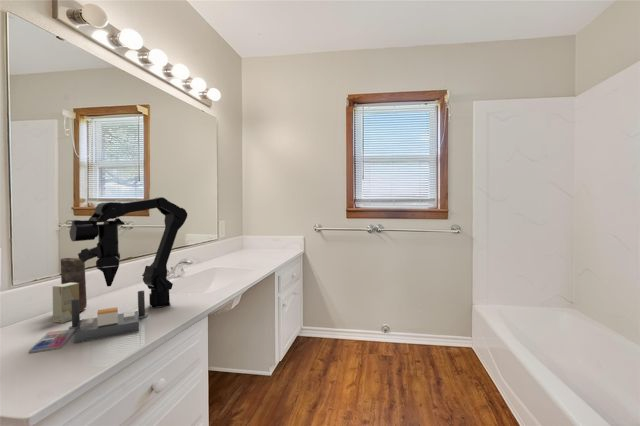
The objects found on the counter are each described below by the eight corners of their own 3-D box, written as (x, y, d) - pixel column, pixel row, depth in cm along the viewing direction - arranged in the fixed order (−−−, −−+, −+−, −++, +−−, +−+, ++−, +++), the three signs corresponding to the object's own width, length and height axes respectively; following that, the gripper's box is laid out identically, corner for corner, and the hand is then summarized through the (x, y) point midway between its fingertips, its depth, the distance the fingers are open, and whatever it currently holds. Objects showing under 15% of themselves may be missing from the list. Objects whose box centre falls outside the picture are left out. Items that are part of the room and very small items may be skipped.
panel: (138, 319, 109) (137, 308, 109) (139, 331, 99) (138, 318, 99) (79, 329, 101) (79, 317, 101) (74, 343, 90) (73, 330, 90)
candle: (65, 309, 122) (64, 257, 121) (89, 307, 125) (87, 255, 124) (58, 315, 115) (57, 260, 114) (83, 312, 118) (81, 258, 117)
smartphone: (77, 328, 101) (61, 346, 87) (77, 331, 101) (61, 350, 87) (47, 331, 98) (26, 351, 84) (47, 334, 98) (26, 355, 84)
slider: (118, 319, 99) (117, 307, 99) (117, 322, 97) (117, 309, 97) (98, 323, 97) (98, 310, 97) (97, 326, 94) (97, 312, 94)
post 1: (83, 325, 105) (83, 297, 105) (82, 328, 102) (81, 300, 102) (70, 327, 103) (69, 299, 103) (67, 330, 100) (67, 302, 100)
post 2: (147, 314, 114) (146, 289, 114) (147, 317, 111) (147, 291, 111) (135, 316, 112) (134, 291, 112) (135, 319, 109) (135, 293, 109)
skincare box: (62, 323, 107) (61, 286, 107) (52, 322, 108) (51, 286, 108) (80, 316, 113) (79, 282, 113) (70, 316, 114) (69, 281, 114)
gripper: (82, 238, 115) (84, 281, 115) (75, 242, 99) (77, 293, 99) (119, 236, 120) (120, 277, 121) (118, 240, 104) (119, 287, 105)
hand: (109, 283), depth 111 cm, fingers open, 9 cm apart
